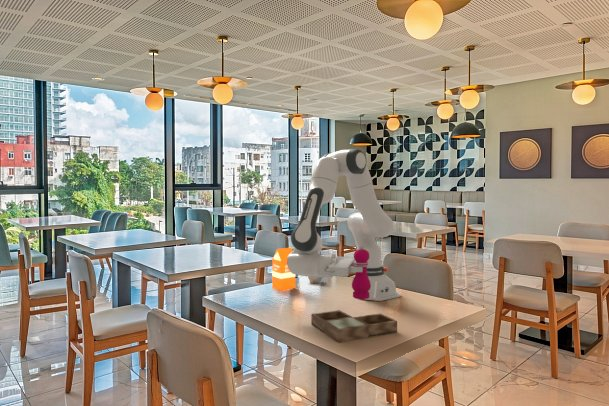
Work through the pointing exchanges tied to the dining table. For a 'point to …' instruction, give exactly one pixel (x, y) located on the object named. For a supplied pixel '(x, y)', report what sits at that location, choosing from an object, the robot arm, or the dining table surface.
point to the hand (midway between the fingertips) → (363, 267)
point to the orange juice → (282, 271)
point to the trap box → (352, 325)
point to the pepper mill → (361, 274)
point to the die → (314, 279)
